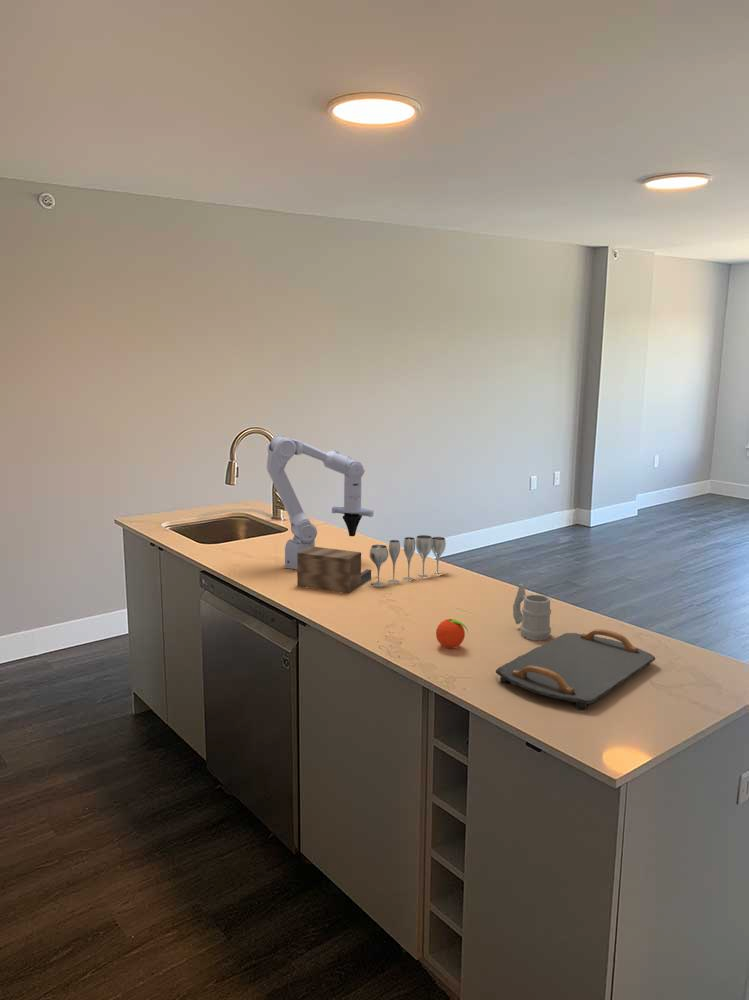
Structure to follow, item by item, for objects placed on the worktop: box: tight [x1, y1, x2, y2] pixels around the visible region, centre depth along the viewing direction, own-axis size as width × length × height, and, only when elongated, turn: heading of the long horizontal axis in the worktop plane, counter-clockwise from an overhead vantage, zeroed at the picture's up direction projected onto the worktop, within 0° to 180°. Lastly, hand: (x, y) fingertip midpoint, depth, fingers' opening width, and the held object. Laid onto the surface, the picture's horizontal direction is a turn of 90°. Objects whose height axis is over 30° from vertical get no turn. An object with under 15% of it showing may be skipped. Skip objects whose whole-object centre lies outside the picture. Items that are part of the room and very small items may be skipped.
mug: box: [512, 583, 552, 642], centre depth 195 cm, size 8×12×12 cm, turn 33°
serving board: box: [495, 628, 656, 711], centre depth 171 cm, size 39×23×6 cm, turn 138°
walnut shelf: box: [296, 546, 372, 595], centre depth 236 cm, size 17×17×10 cm
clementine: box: [435, 618, 469, 649], centre depth 185 cm, size 8×7×7 cm
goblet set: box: [368, 534, 447, 588], centre depth 241 cm, size 28×6×13 cm, turn 123°
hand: (352, 535), depth 258 cm, fingers closed
